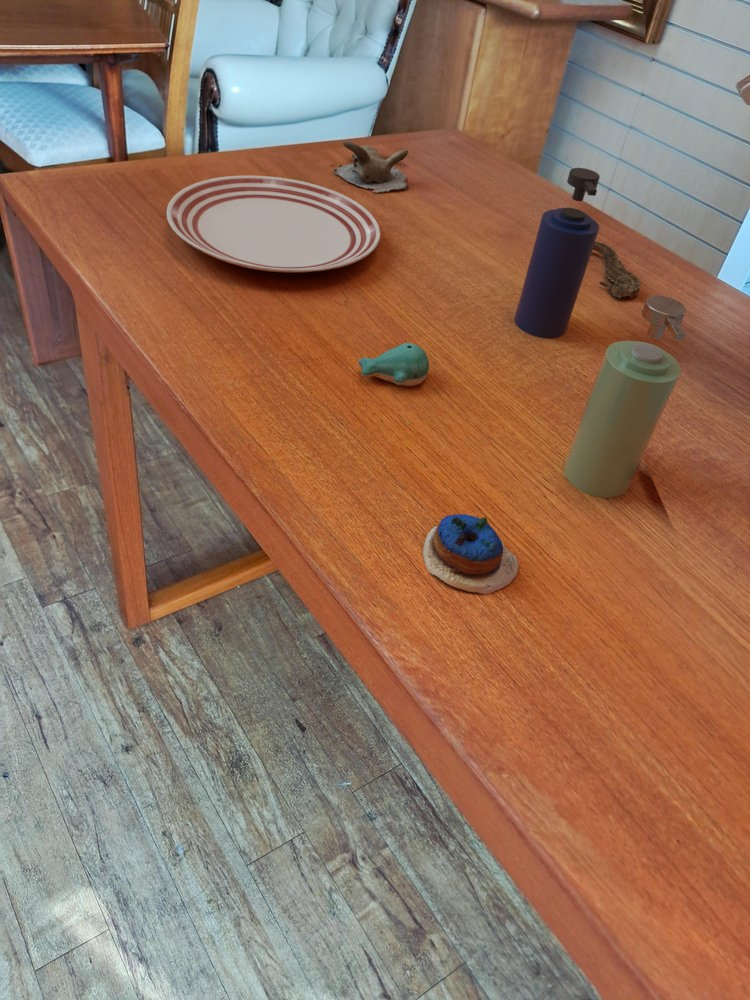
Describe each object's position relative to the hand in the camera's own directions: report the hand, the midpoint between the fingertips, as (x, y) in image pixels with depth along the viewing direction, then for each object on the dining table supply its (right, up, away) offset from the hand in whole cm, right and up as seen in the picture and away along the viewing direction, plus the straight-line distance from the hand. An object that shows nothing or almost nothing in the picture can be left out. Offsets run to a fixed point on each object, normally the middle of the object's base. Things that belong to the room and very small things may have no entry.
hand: (740, 95), depth 76 cm
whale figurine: (-33, -26, +8) cm, 43 cm away
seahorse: (-4, -8, +32) cm, 34 cm away
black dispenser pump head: (-13, -7, +9) cm, 17 cm away
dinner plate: (-48, -5, +28) cm, 56 cm away
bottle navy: (-15, -18, +20) cm, 31 cm away
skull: (-36, +11, +48) cm, 61 cm away
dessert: (-27, -44, -11) cm, 53 cm away
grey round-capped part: (-12, -26, -12) cm, 31 cm away
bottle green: (-14, -37, 0) cm, 39 cm away
